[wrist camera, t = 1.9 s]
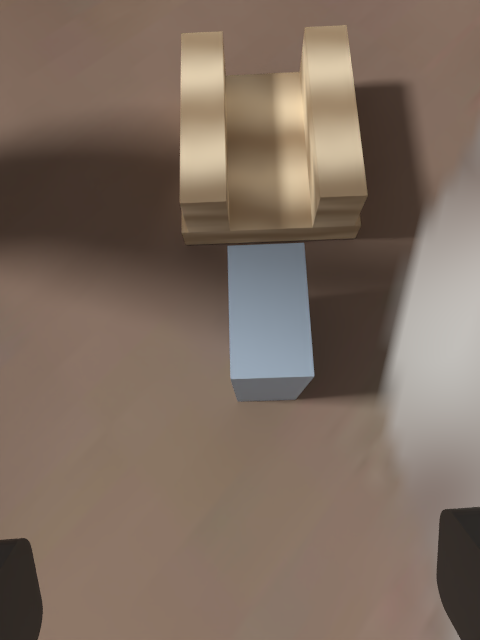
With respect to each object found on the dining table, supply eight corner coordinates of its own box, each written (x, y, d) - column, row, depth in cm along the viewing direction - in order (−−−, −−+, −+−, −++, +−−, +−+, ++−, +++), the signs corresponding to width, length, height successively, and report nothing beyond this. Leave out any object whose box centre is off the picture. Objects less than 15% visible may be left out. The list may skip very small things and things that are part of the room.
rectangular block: (295, 399, 31) (314, 376, 21) (237, 401, 31) (230, 379, 21) (289, 303, 33) (304, 242, 23) (235, 305, 33) (227, 245, 23)
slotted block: (355, 238, 34) (375, 195, 28) (185, 245, 34) (172, 203, 29) (338, 89, 38) (353, 24, 32) (186, 96, 38) (174, 33, 33)
